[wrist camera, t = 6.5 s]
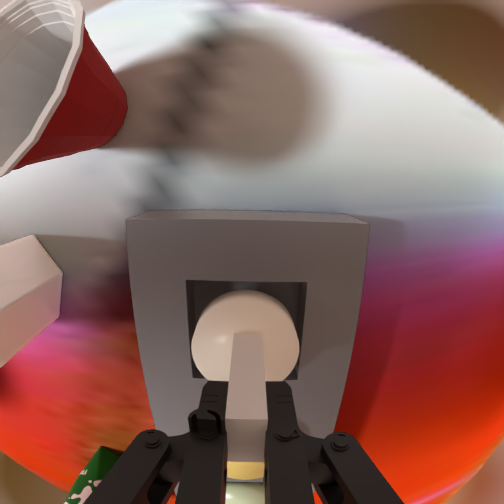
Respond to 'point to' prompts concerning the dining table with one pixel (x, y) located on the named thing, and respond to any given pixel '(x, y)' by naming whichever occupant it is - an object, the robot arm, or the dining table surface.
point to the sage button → (245, 493)
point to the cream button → (244, 321)
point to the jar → (26, 294)
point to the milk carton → (91, 475)
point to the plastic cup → (53, 85)
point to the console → (251, 278)
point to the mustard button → (245, 470)
